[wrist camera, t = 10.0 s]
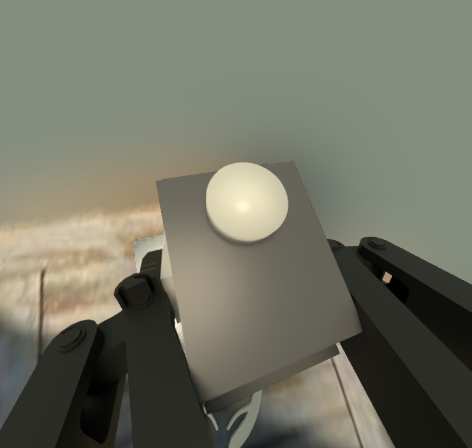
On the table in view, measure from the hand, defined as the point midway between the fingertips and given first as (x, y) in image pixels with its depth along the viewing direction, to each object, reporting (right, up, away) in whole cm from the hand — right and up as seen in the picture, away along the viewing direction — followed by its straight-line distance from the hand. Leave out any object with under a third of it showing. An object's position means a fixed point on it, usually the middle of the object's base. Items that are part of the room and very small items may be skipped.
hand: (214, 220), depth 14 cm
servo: (0, -5, +2) cm, 5 cm away
